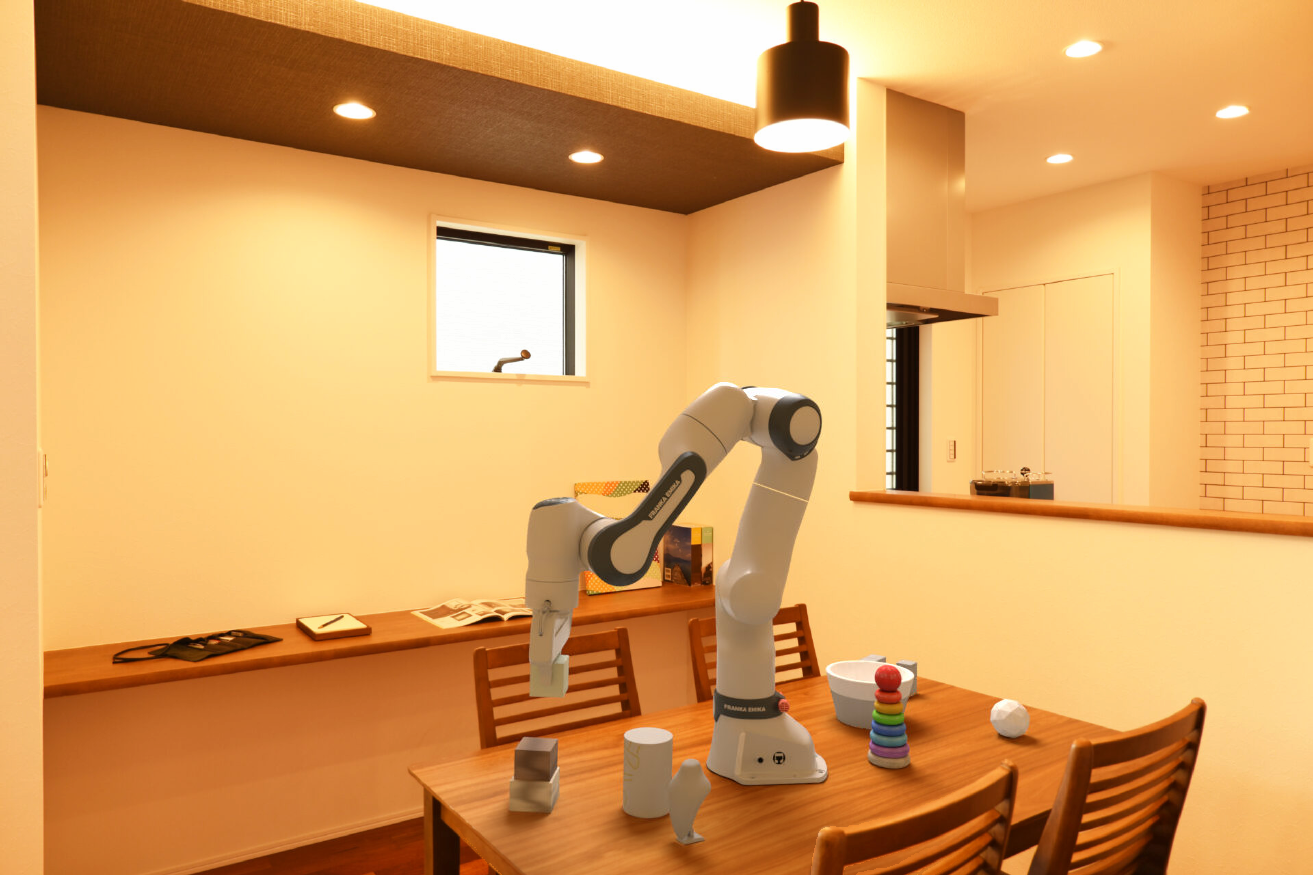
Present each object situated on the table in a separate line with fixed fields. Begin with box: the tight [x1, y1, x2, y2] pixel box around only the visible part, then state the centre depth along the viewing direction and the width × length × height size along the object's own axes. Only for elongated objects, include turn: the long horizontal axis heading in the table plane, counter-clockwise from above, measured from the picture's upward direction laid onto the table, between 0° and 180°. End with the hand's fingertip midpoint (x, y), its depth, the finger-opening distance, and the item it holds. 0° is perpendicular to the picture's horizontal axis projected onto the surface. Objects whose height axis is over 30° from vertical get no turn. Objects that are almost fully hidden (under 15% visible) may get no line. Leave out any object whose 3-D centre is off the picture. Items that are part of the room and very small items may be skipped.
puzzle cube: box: [858, 653, 918, 698], centre depth 211 cm, size 12×12×8 cm
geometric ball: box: [990, 698, 1031, 739], centre depth 182 cm, size 8×8×8 cm
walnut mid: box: [513, 736, 559, 782], centre depth 145 cm, size 6×6×5 cm
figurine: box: [668, 758, 712, 845], centre depth 132 cm, size 8×5×12 cm
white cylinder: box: [622, 726, 674, 819], centre depth 143 cm, size 8×8×12 cm
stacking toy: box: [867, 665, 911, 769], centre depth 166 cm, size 8×8×19 cm
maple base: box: [508, 766, 561, 814], centre depth 144 cm, size 7×7×5 cm
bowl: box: [825, 660, 914, 730], centre depth 192 cm, size 19×19×11 cm
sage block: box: [529, 654, 570, 699], centre depth 142 cm, size 6×6×6 cm
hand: (549, 679), depth 142 cm, fingers closed on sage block, 5 cm apart
